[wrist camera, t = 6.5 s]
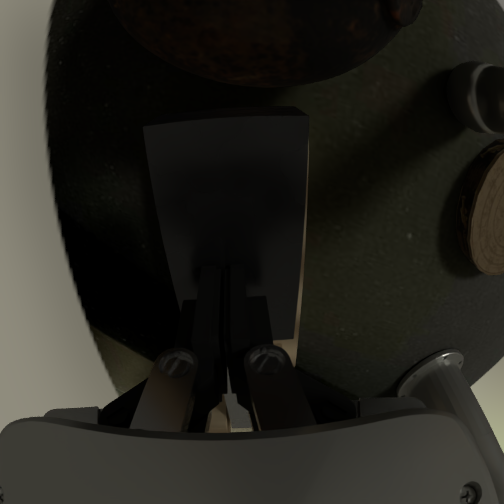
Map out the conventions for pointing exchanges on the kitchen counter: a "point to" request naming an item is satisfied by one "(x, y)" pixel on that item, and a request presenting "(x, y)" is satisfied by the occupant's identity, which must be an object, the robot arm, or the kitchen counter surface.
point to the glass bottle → (265, 36)
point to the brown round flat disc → (483, 211)
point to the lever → (233, 204)
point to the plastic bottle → (477, 96)
